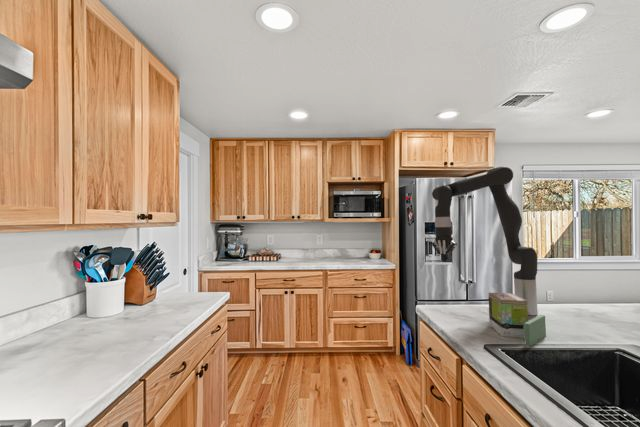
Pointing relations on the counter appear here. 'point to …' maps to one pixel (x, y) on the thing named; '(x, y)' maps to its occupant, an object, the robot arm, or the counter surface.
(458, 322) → the counter surface
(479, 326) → the counter surface
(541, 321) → the bracket
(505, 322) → the tea box
